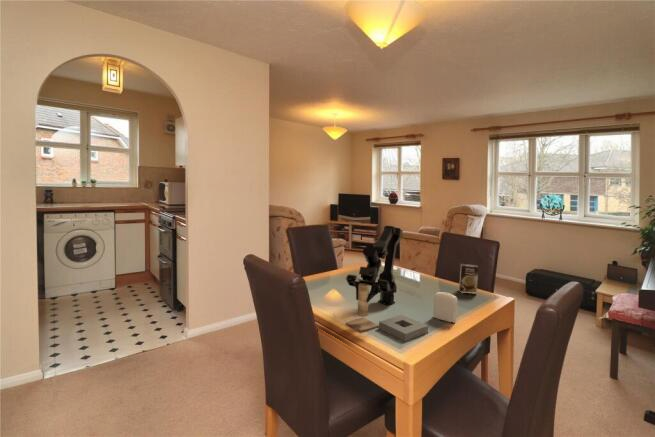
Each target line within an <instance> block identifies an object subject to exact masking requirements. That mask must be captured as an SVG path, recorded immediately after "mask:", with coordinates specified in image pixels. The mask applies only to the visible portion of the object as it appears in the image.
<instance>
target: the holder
mask: <svg viewBox="0 0 655 437" xmlns="http://www.w3.org/2000/svg"><path fill="white" fill-rule="evenodd" d="M378 325H379V327H378V329H379V330H382V331H383V332H386V333H388V334H389V335H391V336H394V337H395V338H398V339H399V340H402V341H403V342H407V341H410V340H413V339H415V338H417V337H420V336H423V335H425V334H428V331H429V325H428V324H425V323H422V322H420V321H417V320H415V319H412V317H411V318H410V317H408V316H406V315H403V314H400V315H396V316H393V317H389V318H386V319H382V320H379V321H378Z"/></svg>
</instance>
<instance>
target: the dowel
mask: <svg viewBox="0 0 655 437" xmlns="http://www.w3.org/2000/svg"><path fill="white" fill-rule="evenodd" d="M369 293H370V285H368V284H364V283H362V284H359V289H358V300H357V313H356V314H357V316H358V317H359V318H366V317H368V316H369V302H367V298H368V295H369Z"/></svg>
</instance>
